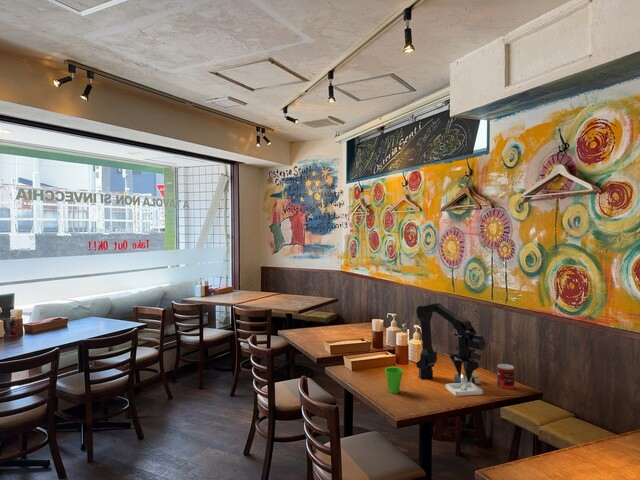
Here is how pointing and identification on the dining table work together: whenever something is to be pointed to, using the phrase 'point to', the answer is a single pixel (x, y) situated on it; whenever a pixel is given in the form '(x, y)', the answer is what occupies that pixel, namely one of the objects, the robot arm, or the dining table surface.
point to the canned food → (505, 376)
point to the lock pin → (463, 382)
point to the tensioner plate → (474, 375)
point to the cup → (394, 379)
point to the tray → (471, 390)
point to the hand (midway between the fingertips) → (464, 377)
